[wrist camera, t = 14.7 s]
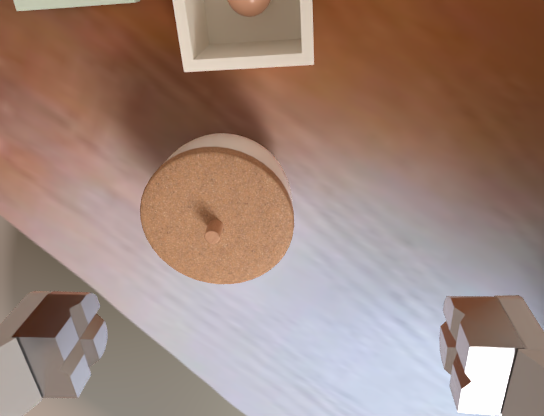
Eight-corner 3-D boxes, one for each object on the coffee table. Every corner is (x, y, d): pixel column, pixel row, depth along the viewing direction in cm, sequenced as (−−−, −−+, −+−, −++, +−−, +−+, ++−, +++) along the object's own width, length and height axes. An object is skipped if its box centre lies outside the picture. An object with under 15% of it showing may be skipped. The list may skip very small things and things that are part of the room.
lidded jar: (145, 184, 39) (103, 245, 31) (214, 86, 34) (186, 127, 26) (246, 250, 42) (231, 323, 34) (322, 167, 37) (327, 228, 29)
